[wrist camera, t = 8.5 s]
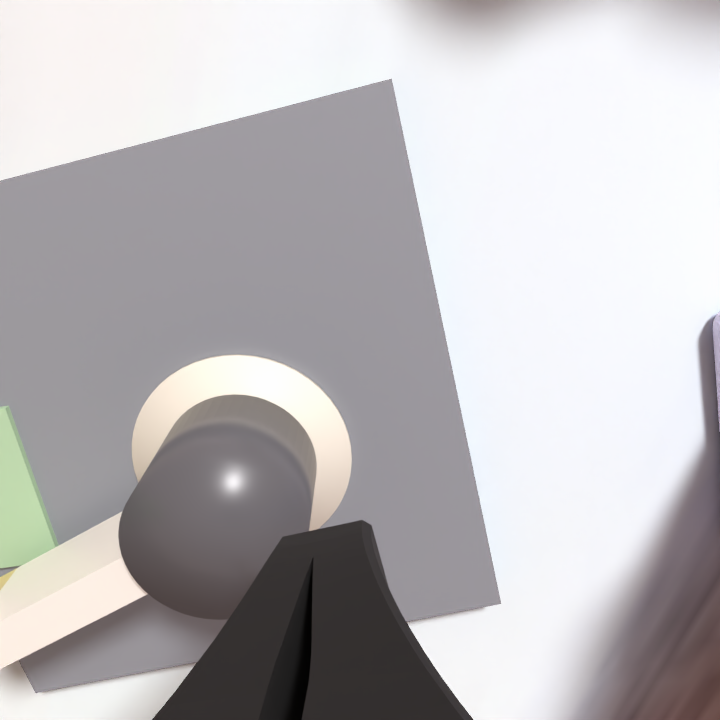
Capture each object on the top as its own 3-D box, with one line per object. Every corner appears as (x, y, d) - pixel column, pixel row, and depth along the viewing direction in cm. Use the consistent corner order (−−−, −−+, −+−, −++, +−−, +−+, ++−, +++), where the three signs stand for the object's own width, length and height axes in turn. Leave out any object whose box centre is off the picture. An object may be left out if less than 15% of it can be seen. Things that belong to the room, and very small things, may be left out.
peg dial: (262, 366, 18) (239, 427, 15) (345, 489, 20) (341, 572, 16) (-38, 534, 20) (-123, 625, 17) (56, 636, 22) (-5, 740, 18)
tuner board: (390, 80, 17) (392, 78, 16) (495, 583, 23) (502, 607, 21) (-177, 228, 19) (-212, 235, 18) (48, 670, 24) (33, 697, 23)
